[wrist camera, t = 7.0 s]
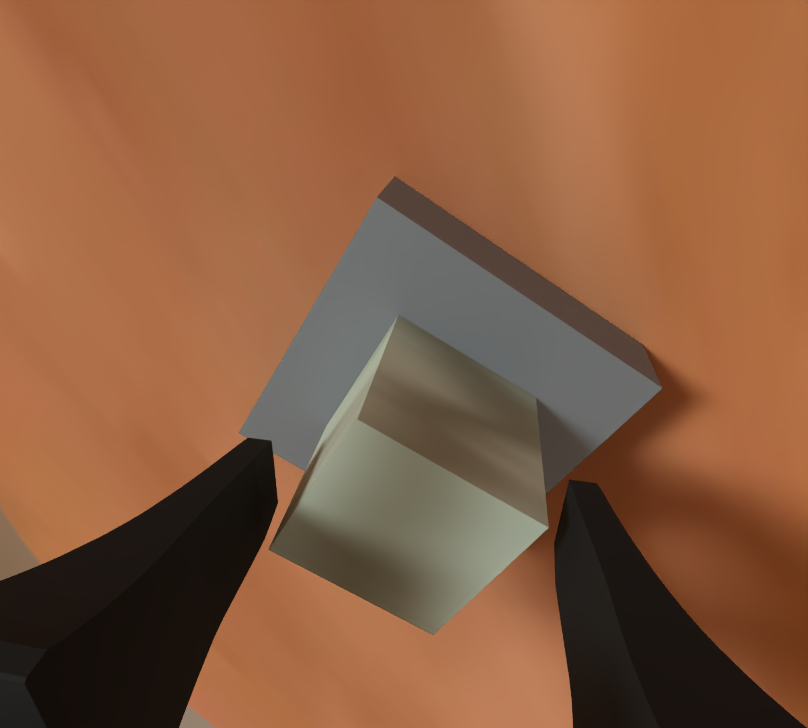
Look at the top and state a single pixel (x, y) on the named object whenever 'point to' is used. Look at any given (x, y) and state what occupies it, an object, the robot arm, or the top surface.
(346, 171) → the top surface
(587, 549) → the robot arm
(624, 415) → the plate
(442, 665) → the top surface
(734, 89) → the top surface
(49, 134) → the top surface
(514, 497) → the sage block
